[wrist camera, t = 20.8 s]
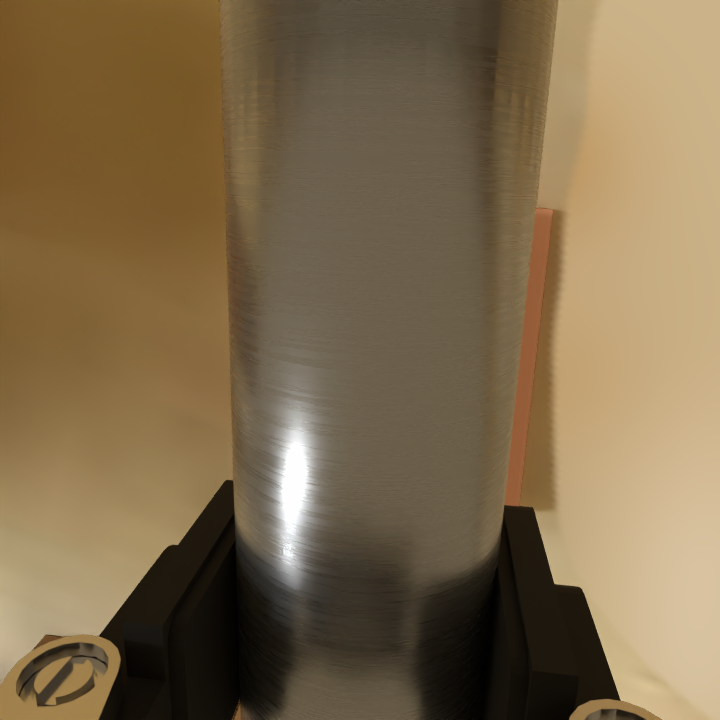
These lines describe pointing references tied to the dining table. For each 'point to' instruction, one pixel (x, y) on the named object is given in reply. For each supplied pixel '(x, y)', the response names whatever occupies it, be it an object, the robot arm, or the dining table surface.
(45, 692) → the robot arm
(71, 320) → the dining table surface
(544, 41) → the axle
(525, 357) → the v block
